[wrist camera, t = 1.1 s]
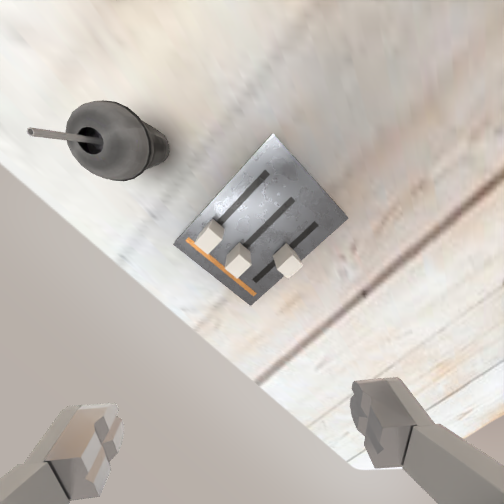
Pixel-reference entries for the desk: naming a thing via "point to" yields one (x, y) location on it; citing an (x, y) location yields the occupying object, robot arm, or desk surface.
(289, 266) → the block
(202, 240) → the block
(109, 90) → the desk surface
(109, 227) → the desk surface
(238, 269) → the block
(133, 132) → the beverage cup
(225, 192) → the grey slider panel
